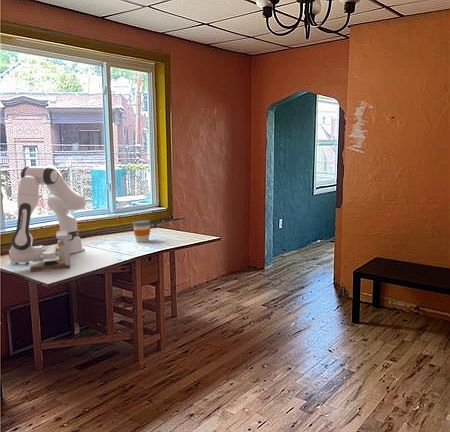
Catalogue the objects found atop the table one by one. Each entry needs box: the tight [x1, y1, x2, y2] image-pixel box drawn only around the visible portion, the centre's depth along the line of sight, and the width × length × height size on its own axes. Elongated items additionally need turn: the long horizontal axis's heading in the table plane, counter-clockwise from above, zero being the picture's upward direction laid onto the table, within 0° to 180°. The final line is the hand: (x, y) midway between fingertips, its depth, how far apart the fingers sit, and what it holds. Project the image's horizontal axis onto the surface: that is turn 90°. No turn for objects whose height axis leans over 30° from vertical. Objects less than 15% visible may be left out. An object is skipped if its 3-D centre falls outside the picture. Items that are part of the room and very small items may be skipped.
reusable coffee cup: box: [132, 219, 151, 244], centre depth 328 cm, size 13×13×15 cm
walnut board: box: [29, 258, 71, 273], centre depth 265 cm, size 16×21×2 cm
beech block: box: [57, 241, 65, 263], centre depth 266 cm, size 5×5×12 cm
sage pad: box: [30, 261, 45, 268], centre depth 262 cm, size 9×7×1 cm
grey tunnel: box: [55, 230, 71, 265], centre depth 265 cm, size 16×6×18 cm, turn 18°
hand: (64, 251), depth 266 cm, fingers closed on beech block, 5 cm apart
